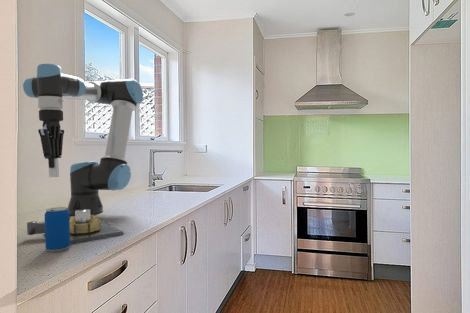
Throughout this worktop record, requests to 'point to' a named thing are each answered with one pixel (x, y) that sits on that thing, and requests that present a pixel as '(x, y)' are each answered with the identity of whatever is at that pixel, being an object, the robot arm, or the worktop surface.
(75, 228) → the grey lever
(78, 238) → the base plate
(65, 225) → the beverage can
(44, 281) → the worktop surface
